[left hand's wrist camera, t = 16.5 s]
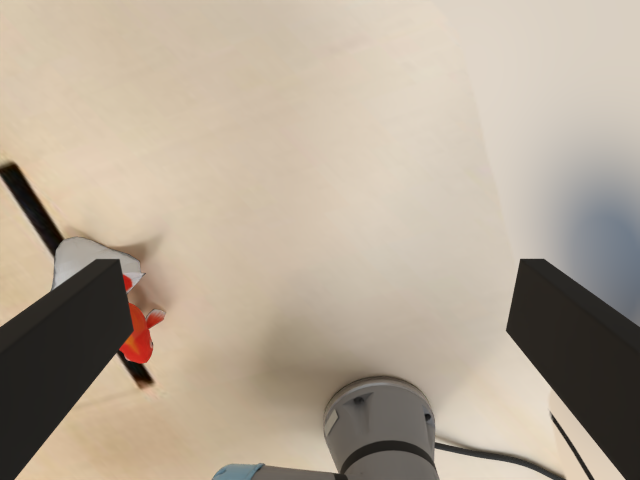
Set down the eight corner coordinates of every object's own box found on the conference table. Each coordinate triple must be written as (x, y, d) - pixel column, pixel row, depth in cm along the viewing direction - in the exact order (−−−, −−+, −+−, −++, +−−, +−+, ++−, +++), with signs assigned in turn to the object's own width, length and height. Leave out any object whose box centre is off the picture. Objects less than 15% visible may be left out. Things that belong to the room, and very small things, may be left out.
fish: (81, 376, 45) (41, 397, 35) (58, 249, 47) (14, 236, 37) (175, 350, 48) (161, 363, 38) (150, 232, 49) (132, 215, 40)
